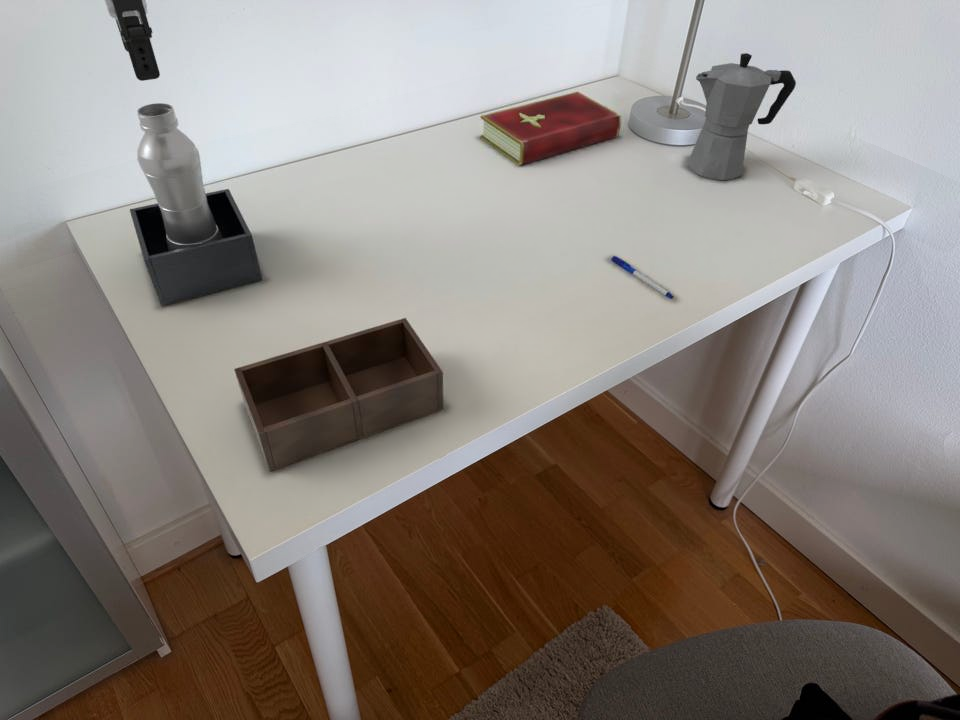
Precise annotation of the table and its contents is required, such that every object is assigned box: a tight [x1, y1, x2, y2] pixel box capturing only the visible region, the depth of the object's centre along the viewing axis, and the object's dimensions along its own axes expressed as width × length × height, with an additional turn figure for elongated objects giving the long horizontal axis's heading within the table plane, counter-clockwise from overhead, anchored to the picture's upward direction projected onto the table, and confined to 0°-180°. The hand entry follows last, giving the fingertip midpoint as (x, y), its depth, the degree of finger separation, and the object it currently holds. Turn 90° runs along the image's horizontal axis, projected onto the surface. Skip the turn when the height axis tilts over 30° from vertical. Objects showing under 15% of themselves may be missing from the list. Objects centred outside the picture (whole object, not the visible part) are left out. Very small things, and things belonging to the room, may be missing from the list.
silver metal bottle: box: [136, 102, 223, 251], centre depth 81 cm, size 6×7×20 cm
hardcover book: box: [479, 91, 622, 167], centre depth 117 cm, size 12×21×4 cm, turn 123°
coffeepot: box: [686, 52, 797, 181], centre depth 106 cm, size 15×9×18 cm, turn 93°
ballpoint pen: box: [610, 255, 674, 299], centre depth 89 cm, size 10×1×1 cm, turn 39°
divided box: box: [233, 317, 444, 472], centre depth 69 cm, size 18×9×5 cm, turn 118°
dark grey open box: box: [129, 188, 263, 307], centre depth 86 cm, size 12×12×7 cm
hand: (142, 64), depth 71 cm, fingers open, 8 cm apart
